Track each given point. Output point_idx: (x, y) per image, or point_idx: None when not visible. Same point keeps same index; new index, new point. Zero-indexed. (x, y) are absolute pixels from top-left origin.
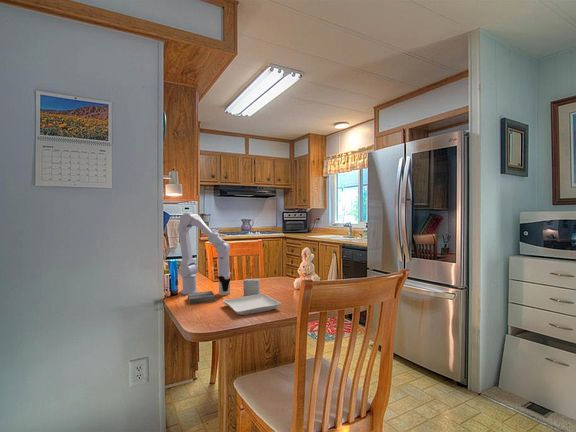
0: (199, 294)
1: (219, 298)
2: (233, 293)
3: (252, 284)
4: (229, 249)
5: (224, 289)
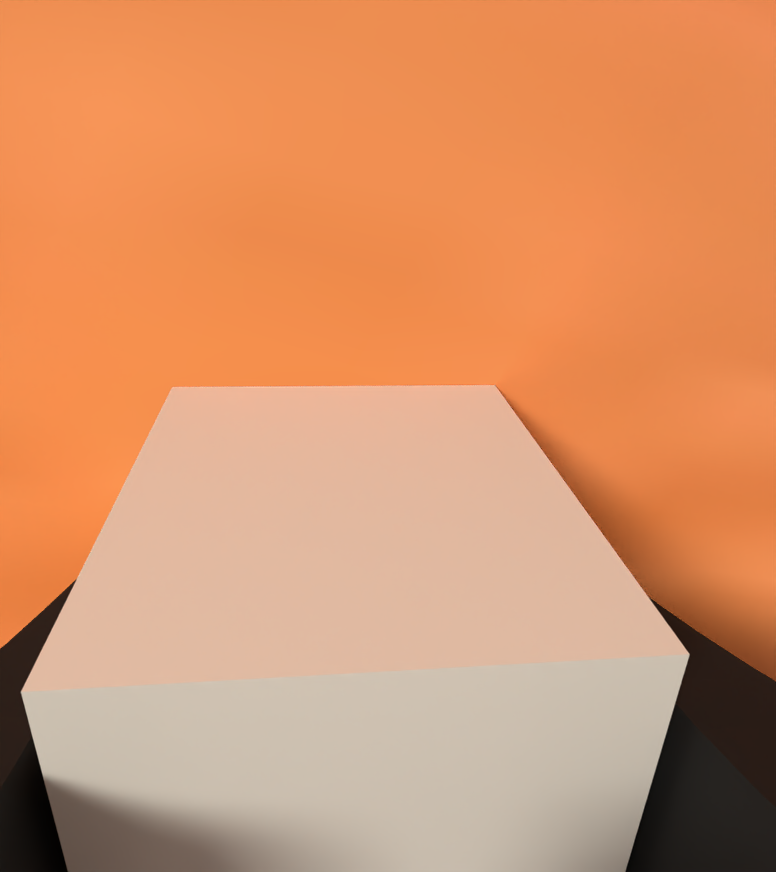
0: None
1: None
2: (450, 249)
3: None
4: None
5: None
